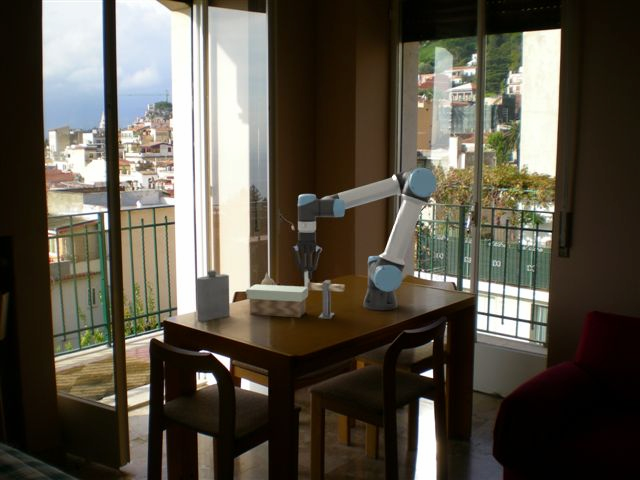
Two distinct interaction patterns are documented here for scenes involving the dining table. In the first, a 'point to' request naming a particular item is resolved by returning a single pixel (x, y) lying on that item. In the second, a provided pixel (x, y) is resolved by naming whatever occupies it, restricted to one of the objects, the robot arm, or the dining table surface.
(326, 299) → the grey post stand
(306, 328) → the dining table surface
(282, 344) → the dining table surface
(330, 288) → the light wooden bar
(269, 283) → the toy
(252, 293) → the lid
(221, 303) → the flask
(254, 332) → the dining table surface
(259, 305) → the brown open box
